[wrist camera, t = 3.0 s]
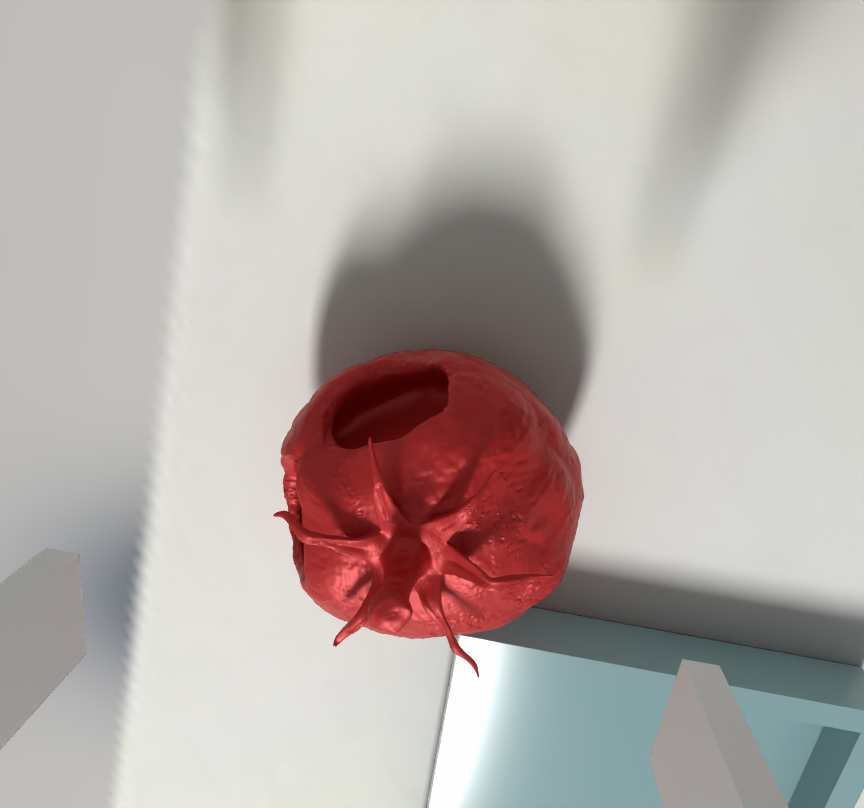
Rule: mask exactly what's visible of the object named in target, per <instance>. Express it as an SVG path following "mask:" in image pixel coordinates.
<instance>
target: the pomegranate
mask: <svg viewBox="0 0 864 808" xmlns="http://www.w3.org/2000/svg"><path fill="white" fill-rule="evenodd" d="M281 455H282V457H281V464H282V467H283V468H284V471H285V475H284V479H283V484H284V486H283V488H284V494H285V495H284V498H285V499H286V500H287V505H288V512H287V511H280V512H277V513H275V514H274V515H273V516H275V517H282V518H284V519H285V520H286V521H287V523H288V524H289V529H290V533H291V536H292V540H293V560H294V564H295V566H296V569H297V572H298V574H299V577H300V583H301V585H302V588H303V589H304V590H305V592H306V593H307V594H308V595H309V596H310V597H311V598H312V599H313V601H314V602H315V603H316V604H317V605H319V606H320V607H321V608H322V609H323V610H325V611H326V612H328V613H330V614H331V615H333V616H335V617H337V618H338V619H340V620H343V621H346V622H348V623H347V624H346V625H345V626H344V627H343V628H342V630H341V631H340V632H339V633H338V635H337V636H336V638H335V640H334V643H333V646H335V647H336V646H337V645H338V644H340V643H341V642H342V641H343V640H344V639H345V638H347V637H348V636H349V635H351V634H353V633H355V632H356V631H358V630H359V629H360V628H361V627H362V626H363V627H366V628H368V629H370V630H374V631H376V632H378V633H382V634H389V635H394V636H399V637H406V638H410V639H415V638H421V639H424V638H430V637H442V636H446V637H447V639H448V642H449V645H450V648H451V650H452V651H453V652H454V653H455V654H456V655H457V656H459V657H461V658H462V659H464V660H465V661H466V662H468V663H469V664H470V665H471V667H472V668H473V669H474V671H475V672H476V675H477V677H478V678H479V670H478V665H477V663H476V662H475V660H474V659H473V658H472V657H471V656H470V655H469V654H468V653H466V652H465V651H464V650H463V649H462V648H461V647H460V645H459V644H458V642H457V641H456V639H455V637H454V635H459V634H464V635H467V634H473V633H476V632H483V631H488V630H493V629H497V628H500V627H502V626H504V625H505V624H507V623H509V622H511V621H512V620H513V619H515V618H517V617H518V616H520V615H521V614H523V613H524V612H525V611H526V610H527V609H529V608H530V607H532V606H534V605H536V604H537V603H539V602H540V601H541V600H543V599H544V598H545V597H547V596H548V595H550V594H551V593H552V592H553V591H554V590H555V588H556V587H557V586H558V584H559V583H560V581H561V580H562V577H563V575H564V572H565V570H566V568H567V565H568V562H569V557H570V553H571V549H572V545H573V542H574V539H575V535H576V530H577V526H578V520H579V516H580V511H581V507H582V502H583V499H584V493H583V486H582V478H581V465H580V460H579V457H578V455H577V453H576V451H575V449H574V448H573V447H572V445H570V444H569V441H568V438H567V436H566V434H565V432H564V430H563V427H562V426H561V424H560V423H559V422H558V420H557V419H556V417H555V416H554V415H553V414H552V413H551V412H550V411H549V409H548V408H547V407H546V406H545V405H544V404H543V403H542V402H541V401H540V400H539V399H538V398H537V396H536V395H535V394H534V393H533V392H532V391H531V390H530V389H529V388H528V387H527V386H526V385H525V384H524V383H523V382H521V381H520V380H518V379H517V378H516V377H515V376H514V375H512V374H511V373H509V372H507V371H505V370H504V369H501V368H499V367H498V366H496V365H494V364H491V363H489V362H487V361H484V360H482V359H480V358H477V357H474V356H470V355H467V354H464V353H458V352H448V351H443V350H435V349H426V350H423V351H406V352H395V353H393V354H387V355H385V356H381V357H379V358H376V359H374V360H373V361H371V362H369V363H364V364H359V365H357V366H354V367H351V368H348V369H346V370H344V371H343V372H341V373H340V374H338V375H336V376H335V377H333V378H331V379H330V380H329V381H328V382H327V383H325V384H324V385H323V386H321V387H320V388H319V389H318V390H317V391H316V392H315V393H314V395H313V396H312V398H311V399H310V401H309V402H308V403H307V404H306V405H305V406H304V408H303V409H302V410H301V411H300V412H299V413H298V415H297V416H296V417H295V419H294V421H293V423H292V427H291V429H290V431H289V432H288V433H287V436H286V437H285V439H284V441H283V444H282V448H281Z"/></svg>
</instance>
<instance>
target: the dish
mask: <svg viewBox="0 0 864 808" xmlns="http://www.w3.org/2000/svg"><path fill="white" fill-rule="evenodd" d="M456 641H457V642H458V644H459V645H460V647H461V648H462V649H463V650H464V651H465V652H466V653H468V654H469V655H470V656H471V657H472V658H473V659H474V660H475V662H476V663H477V665H478V670H479V678H478V677H477V675H476V672H475V671H474V669H473V668H472V667H471V665H470V664H469V663H468V662H466V661H465V660H464V659H462V658H461V657H459V656H457V655H456V654H455V653H454V656H453V662H452V668H451V673H450V679H449V684H448V690H447V695H446V701H445V706H444V712H443V717H442V723H441V728H440V734H439V739H438V745H437V751H436V756H435V762H434V767H433V773H432V778H431V784H430V789H429V795H428V800H427V806H426V808H663V804H662V800H661V797H660V793H659V790H658V786H657V783H656V779H655V776H654V772H653V768H652V765H651V761H650V758H649V757H650V754H651V751H652V748H653V745H654V742H655V739H656V736H657V733H658V730H659V728H660V725H661V722H662V719H663V716H664V713H665V710H666V707H667V704H668V701H669V698H670V695H671V692H672V689H673V686H674V683H675V680H676V677H677V674H678V671H679V668H680V665H681V662H682V659H685V660H691V661H697V662H702V663H708V664H714V665H719V666H720V668H721V670H722V672H723V674H724V676H725V678H726V680H727V682H728V684H729V686H730V688H731V690H732V692H733V695H734V697H735V699H736V701H737V703H738V705H739V707H740V709H741V711H742V713H743V715H744V717H745V719H746V721H747V723H748V725H749V727H750V729H751V731H752V733H753V736H754V738H755V740H756V742H757V744H758V746H759V748H760V750H761V752H762V754H763V756H764V758H765V760H766V762H767V764H768V766H769V768H770V770H771V772H772V774H773V777H774V779H775V781H776V783H777V785H778V787H779V789H780V791H781V793H782V795H783V797H784V799H785V801H786V803H787V805H788V807H789V808H854V807H855V805H856V803H857V801H858V799H859V797H860V795H861V793H862V791H863V789H864V670H863V669H862V668H861V667H858V666H853V665H847V664H842V663H836V662H831V661H825V660H820V659H814V658H809V657H803V656H798V655H792V654H787V653H781V652H776V651H770V650H765V649H759V648H754V647H748V646H743V645H737V644H732V643H726V642H721V641H716V640H710V639H705V638H699V637H694V636H688V635H683V634H677V633H672V632H666V631H661V630H655V629H650V628H644V627H639V626H633V625H628V624H622V623H617V622H611V621H606V620H600V619H595V618H589V617H584V616H578V615H573V614H567V613H562V612H556V611H551V610H545V609H540V608H535V607H530V608H529V609H527V610H526V611H525V612H524V613H523V614H521V615H520V616H518V617H517V618H515V619H513V620H512V621H511V622H509V623H507V624H505V625H504V626H502V627H500V628H497V629H493V630H488V631H483V632H476V633H473V634H467V635H464V634H459V635H457V640H456Z"/></svg>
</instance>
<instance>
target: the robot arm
mask: <svg viewBox="0 0 864 808" xmlns="http://www.w3.org/2000/svg"><path fill="white" fill-rule="evenodd" d="M85 655H86V646H85V630H84V615H83V600H82V584H81V570H80V554H79V553H73V552H68V551H62V550H56V549H50V548H45V549H44V550H42V551H41V552H40V553H39V554H37V555H36V556H35V557H33V558H32V559H31V560H30V561H28V562H27V563H26V564H24V565H23V566H22V567H21V568H19V569H18V570H17V571H15V572H14V573H13V574H12V575H10V576H9V577H8V578H6V579H5V580H4V581H3V582H1V583H0V750H1V749H2V748H3V747H4V745H5V744H6V743H7V742H8V741H9V740H10V738H11V737H13V735H14V734H15V733H16V732H17V731H18V730H19V729H20V728H21V726H22V725H23V724H24V723H25V722H26V721H27V720H28V719H29V718H30V716H31V715H32V714H33V713H34V712H35V711H36V710H37V709H38V708H39V706H40V705H41V704H42V703H43V702H44V701H45V700H46V699H47V697H48V696H49V695H50V694H51V693H52V692H53V691H54V690H55V688H56V687H57V686H58V685H59V684H60V683H61V682H62V681H63V680H64V679H65V677H66V676H67V675H68V674H69V673H70V672H71V671H72V670H73V668H74V667H75V666H76V665H77V664H78V663H79V662H80V661H81V660H82V659H83V657H84V656H85ZM649 758H650V761H651V765H652V768H653V772H654V776H655V779H656V783H657V786H658V790H659V793H660V797H661V800H662V804H663V808H789V807H788V805H787V803H786V801H785V799H784V797H783V795H782V793H781V791H780V789H779V787H778V785H777V783H776V781H775V779H774V777H773V774H772V772H771V770H770V768H769V766H768V764H767V762H766V760H765V758H764V756H763V754H762V752H761V750H760V748H759V746H758V744H757V742H756V740H755V738H754V736H753V733H752V731H751V729H750V727H749V725H748V723H747V721H746V719H745V717H744V715H743V713H742V711H741V709H740V707H739V705H738V703H737V701H736V699H735V697H734V695H733V692H732V690H731V688H730V686H729V684H728V682H727V680H726V678H725V676H724V674H723V672H722V670H721V668H720V666H719V665H714V664H708V663H702V662H697V661H691V660H685V659H682V662H681V665H680V668H679V671H678V674H677V677H676V680H675V683H674V686H673V689H672V692H671V695H670V698H669V701H668V704H667V707H666V710H665V713H664V716H663V719H662V722H661V725H660V728H659V730H658V733H657V736H656V739H655V742H654V745H653V748H652V751H651V754H650V757H649Z"/></svg>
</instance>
